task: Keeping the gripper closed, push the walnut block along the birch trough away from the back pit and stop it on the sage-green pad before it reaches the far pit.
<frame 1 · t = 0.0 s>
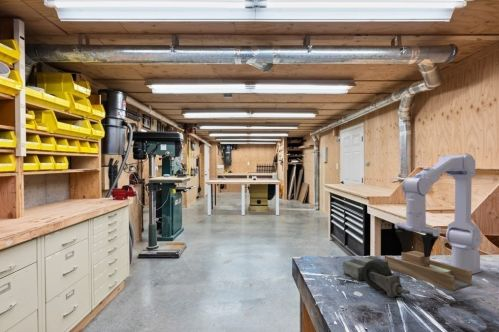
hand: (416, 253, 99), 10 cm above the table, tool pointing down, fingers open, 7 cm apart
stone block: (364, 274, 109), on the table
caster wheel: (385, 293, 92), on the table
walnut block: (416, 264, 109), point 3 cm above the table, touching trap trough
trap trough: (424, 275, 107), on the table
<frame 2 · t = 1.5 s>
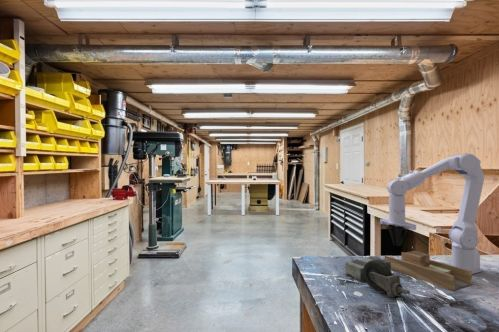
hand: (397, 245, 117), 8 cm above the table, tool pointing down, fingers closed
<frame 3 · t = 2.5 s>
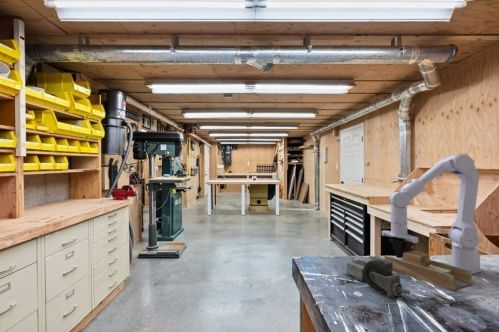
hand: (399, 257, 116), 4 cm above the table, tool pointing down, fingers closed
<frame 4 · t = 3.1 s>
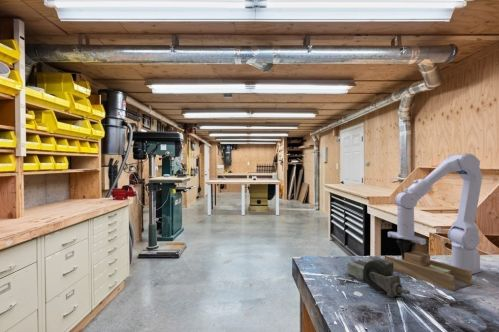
hand: (405, 259, 113), 4 cm above the table, tool pointing down, fingers closed
walnut block: (417, 264, 109), point 3 cm above the table, touching gripper
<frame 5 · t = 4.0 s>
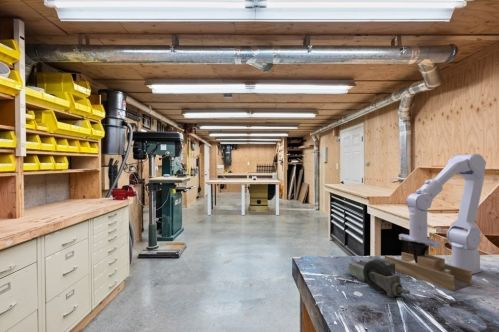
hand: (418, 263, 109), 4 cm above the table, tool pointing down, fingers closed
walnut block: (430, 269, 105), point 3 cm above the table, touching gripper
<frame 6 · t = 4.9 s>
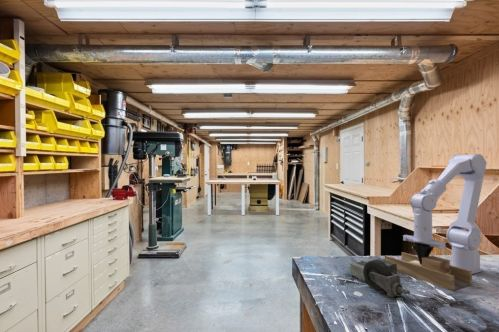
hand: (423, 264, 107), 4 cm above the table, tool pointing down, fingers closed
walnut block: (435, 270, 103), point 3 cm above the table, touching gripper, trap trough
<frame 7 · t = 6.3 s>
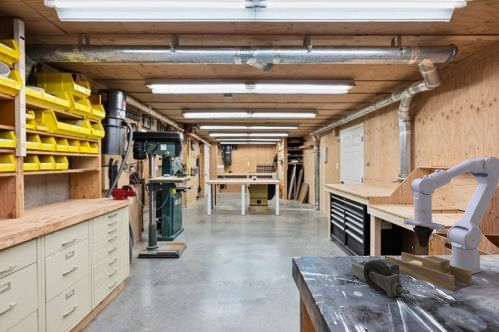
hand: (423, 246, 111), 9 cm above the table, tool pointing down, fingers closed
walnut block: (435, 270, 103), point 3 cm above the table, touching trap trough
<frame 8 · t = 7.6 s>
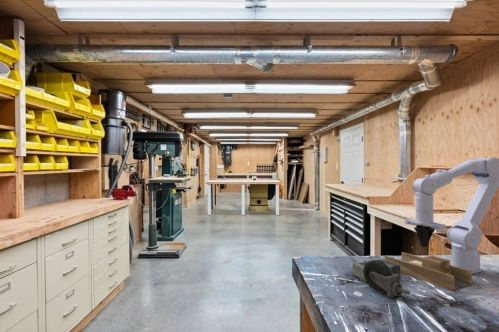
hand: (424, 246, 111), 9 cm above the table, tool pointing down, fingers closed
at the end: walnut block 0.8 cm from the target spot, point 3.0 cm above the table; walnut block tilted 0°; the gripper is holding nothing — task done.
